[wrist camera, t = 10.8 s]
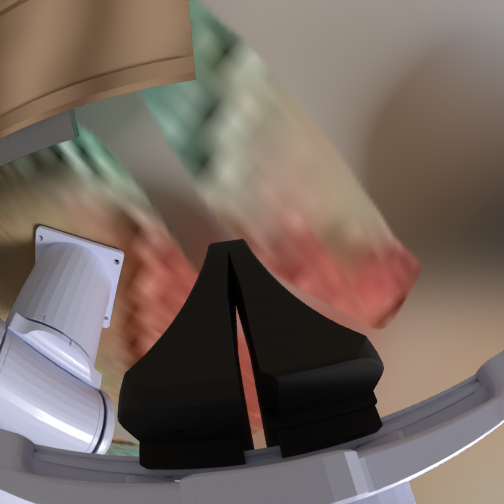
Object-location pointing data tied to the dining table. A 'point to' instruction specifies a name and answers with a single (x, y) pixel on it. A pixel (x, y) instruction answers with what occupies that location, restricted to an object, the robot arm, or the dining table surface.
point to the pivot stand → (38, 136)
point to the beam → (87, 53)
